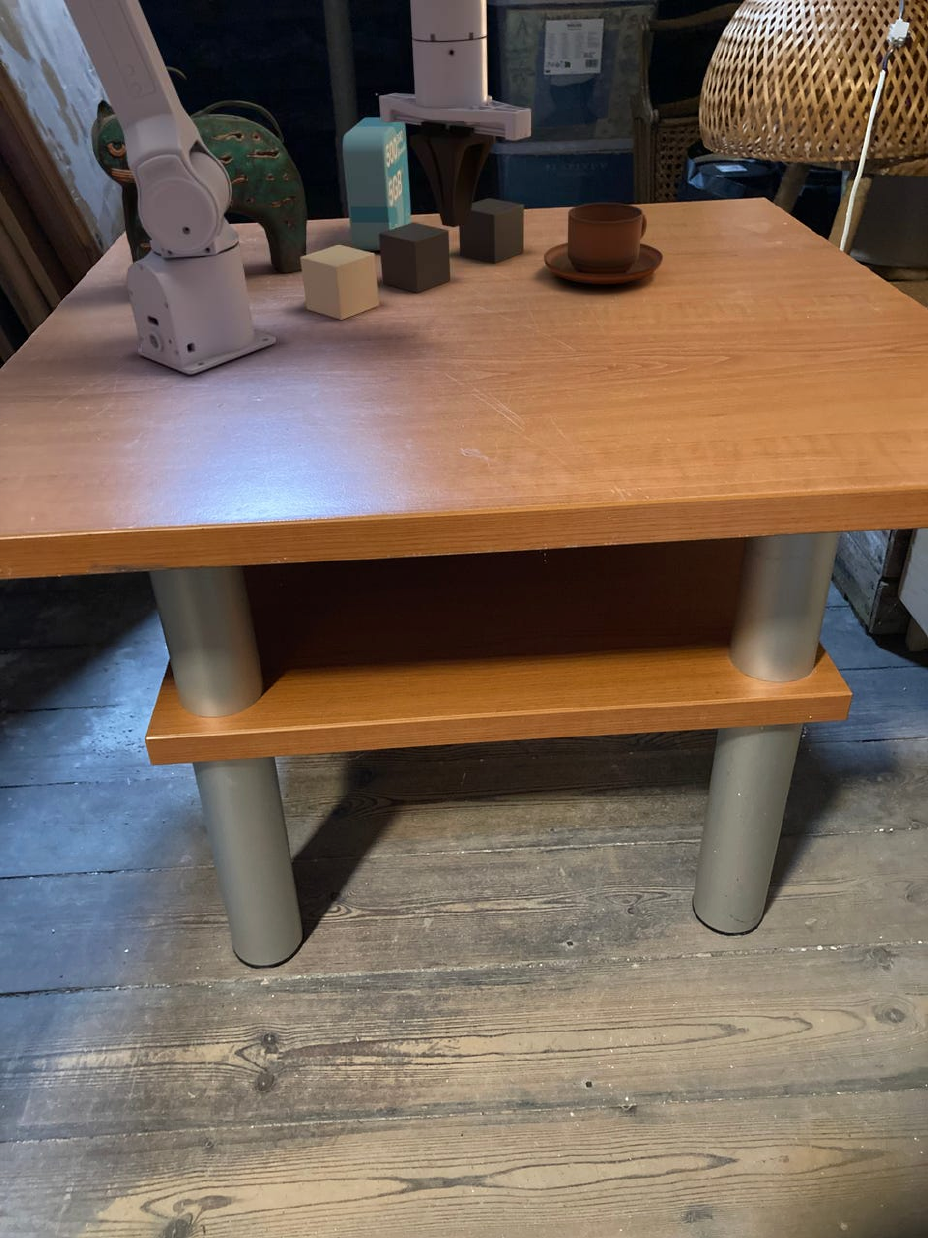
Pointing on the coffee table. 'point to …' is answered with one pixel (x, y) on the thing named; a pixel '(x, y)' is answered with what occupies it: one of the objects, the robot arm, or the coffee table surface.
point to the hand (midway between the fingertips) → (455, 223)
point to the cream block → (340, 281)
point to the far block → (493, 231)
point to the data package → (376, 180)
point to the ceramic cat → (251, 162)
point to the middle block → (415, 257)
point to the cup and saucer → (604, 246)
